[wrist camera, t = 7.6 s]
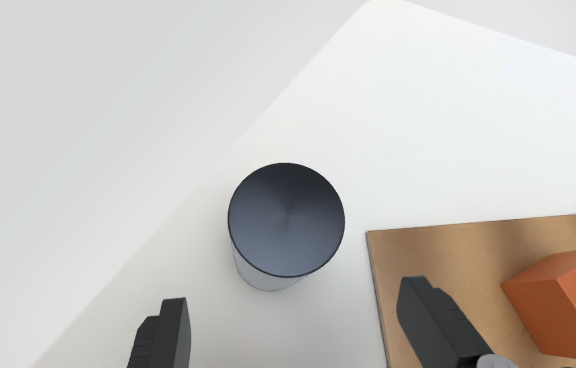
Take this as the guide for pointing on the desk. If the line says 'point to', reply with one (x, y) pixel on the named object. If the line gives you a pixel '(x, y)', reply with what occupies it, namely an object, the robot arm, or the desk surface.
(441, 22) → the desk surface
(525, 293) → the orange block
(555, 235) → the cork mat
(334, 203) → the charcoal tin
